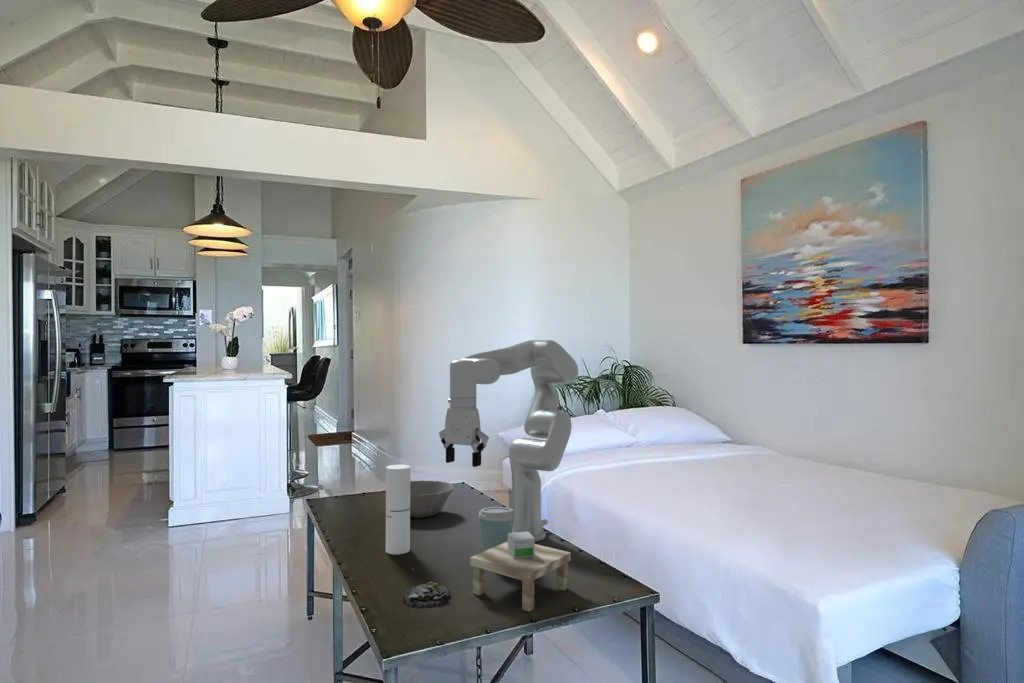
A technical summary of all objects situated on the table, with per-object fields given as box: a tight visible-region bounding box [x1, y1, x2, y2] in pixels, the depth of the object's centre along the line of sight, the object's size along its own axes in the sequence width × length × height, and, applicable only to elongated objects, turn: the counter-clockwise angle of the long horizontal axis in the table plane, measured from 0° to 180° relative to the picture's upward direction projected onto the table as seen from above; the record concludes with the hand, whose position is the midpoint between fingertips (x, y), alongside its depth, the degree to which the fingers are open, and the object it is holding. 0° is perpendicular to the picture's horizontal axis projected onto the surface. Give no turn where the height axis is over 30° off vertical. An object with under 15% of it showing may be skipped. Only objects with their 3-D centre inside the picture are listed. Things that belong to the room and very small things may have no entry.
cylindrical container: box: [385, 464, 411, 555], centre depth 181 cm, size 7×7×25 cm
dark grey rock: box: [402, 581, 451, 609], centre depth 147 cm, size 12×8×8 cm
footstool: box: [469, 541, 572, 612], centre depth 151 cm, size 18×18×9 cm
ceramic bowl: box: [410, 480, 455, 519], centre depth 220 cm, size 22×23×10 cm
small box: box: [508, 532, 536, 559], centre depth 151 cm, size 6×6×5 cm
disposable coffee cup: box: [478, 506, 516, 552], centre depth 172 cm, size 11×11×15 cm
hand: (463, 464), depth 170 cm, fingers open, 9 cm apart
